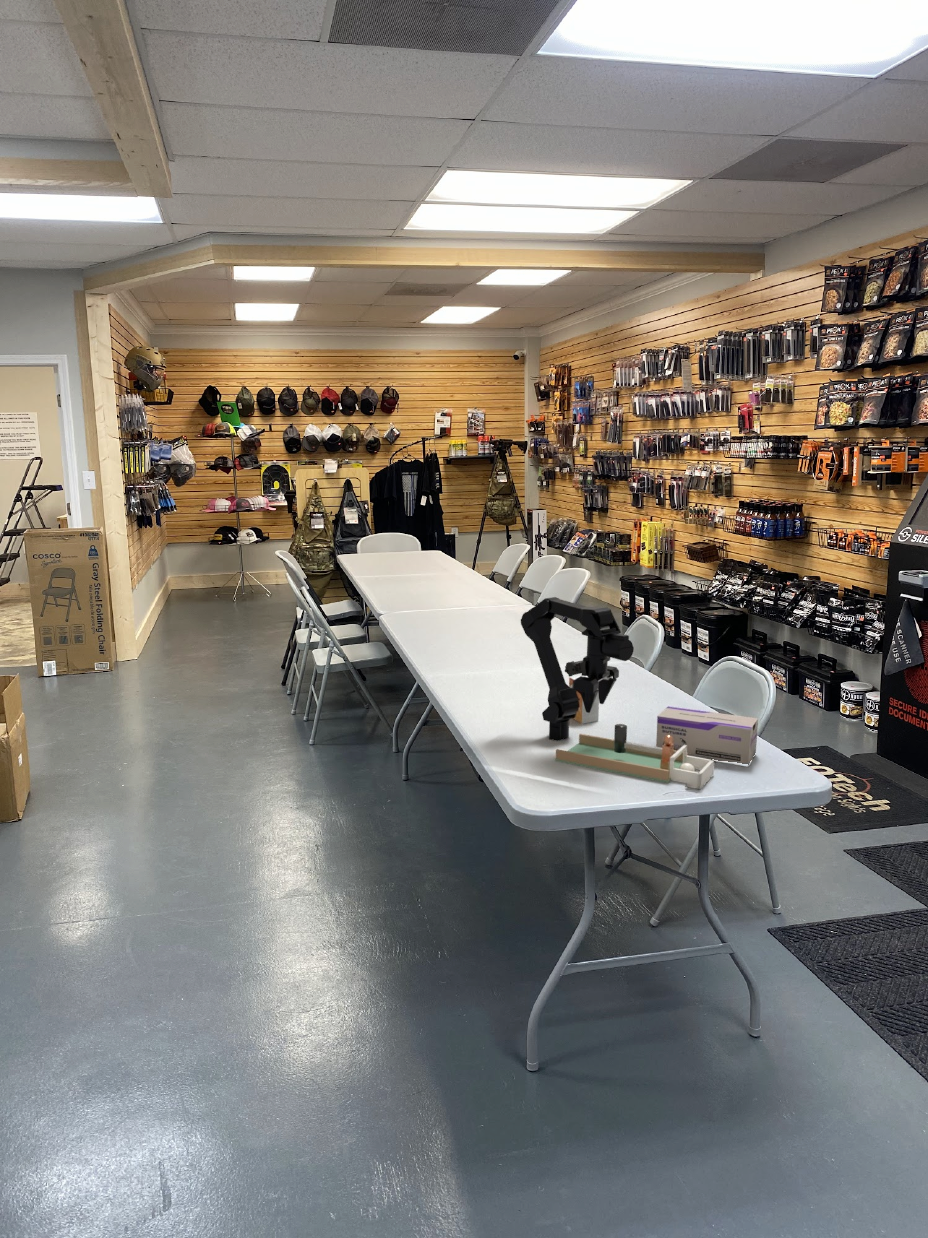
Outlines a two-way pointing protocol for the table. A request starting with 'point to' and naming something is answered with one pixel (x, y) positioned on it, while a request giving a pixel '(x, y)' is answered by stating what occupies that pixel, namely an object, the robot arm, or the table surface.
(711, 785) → the table surface
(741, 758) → the surgical sutures box
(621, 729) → the rod
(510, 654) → the table surface
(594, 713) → the small box
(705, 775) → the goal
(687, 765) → the ball
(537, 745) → the table surface
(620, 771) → the pitch
